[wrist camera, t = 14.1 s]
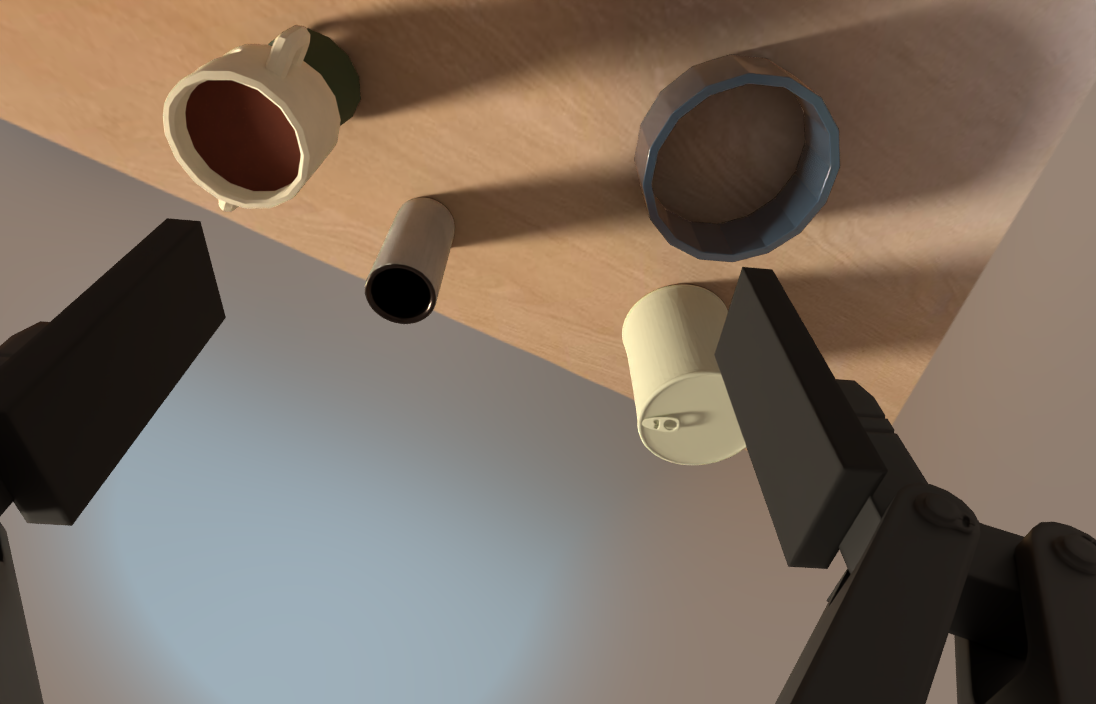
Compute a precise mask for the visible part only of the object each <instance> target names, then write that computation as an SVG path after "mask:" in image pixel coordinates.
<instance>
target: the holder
mask: <svg viewBox="0 0 1096 704" xmlns="http://www.w3.org/2000/svg"><path fill="white" fill-rule="evenodd" d="M746 84H756V85H766V86H776V87H785V88H786V89H788V90H790V91H791V92H793V93H794V95H795V97H796V99H797V100H798V102H799V104H800V106H801V108H802V109H803V111H804V128H805V145H804V147H803V150H802V153H801V156H800V159H799V162H798V165H797V168H796V171H795V173H794V175H793V176H792V177H791V178H790V180H789V181H788V182H787V183H786V185H785V186H784V187H783V188H782V190H781V191H780V192H779V194H778V195H777V196H776V197H775V199H773V200H772V201H770V202H768V203H767V204H765V205H764V206H762V207H761V208H759V209H758V210H756V211H755V212H753V213H752V214H750V215H749V216H747V217H743V218H739V219H736V220H732V221H728V222H724V223H721V224H711V223H700V222H690V221H688V220H686V219H684V218H682V217H680V216H678V215H676V214H674V213H673V212H671V211H669V210H667V209H665V207H664V206H663V205H662V203H661V202H660V201H659V200H658V198H657V197H656V196H655V194H654V193H653V189H652V181H653V176H654V171H655V166H656V161H657V156H658V151H659V150H660V148H661V147H662V145H663V143H664V142H665V140H666V139H667V137H668V136H669V134H670V133H671V131H672V129H673V128H674V126H675V125H676V123H677V122H678V120H679V119H680V118H681V117H683V116H684V115H685V114H687V113H688V112H689V111H690V110H692V109H693V108H694V107H696V106H697V105H698V104H700V103H701V102H702V101H704V100H705V99H706V98H707V97H709V96H710V95H713V94H716V93H719V92H723V91H726V90H729V89H732V88H736V87H739V86H742V85H746ZM634 161H635V165H636V170H637V174H638V178H639V183H640V187H641V191H642V195H643V198H644V201H645V205H646V208H647V211H648V215H649V218H650V220H651V221H652V223H653V224H654V225H655V226H656V228H657V229H658V230H659V231H660V233H661V234H662V235H663V237H664V238H665V239H666V240H667V242H668V243H669V244H670V245H672V246H674V247H676V248H678V249H680V250H682V251H684V252H686V253H688V254H689V255H691V256H693V257H695V258H697V259H702V260H713V261H725V262H736V261H739V260H743V259H747V258H751V257H755V256H759V255H763V254H767V253H769V252H771V251H772V250H774V249H776V248H777V247H779V246H780V245H782V244H784V243H785V242H787V241H788V240H790V239H791V238H793V237H795V236H796V235H798V234H799V233H800V232H802V231H803V229H804V228H805V227H806V226H807V225H808V224H809V222H810V221H811V220H812V219H813V218H814V216H815V215H816V214H817V213H818V212H819V211H820V209H821V208H822V207H823V206H824V205H825V203H826V202H827V199H828V197H829V194H830V192H831V189H832V186H833V184H834V181H835V179H836V176H837V173H838V171H839V168H840V149H839V129H838V127H837V125H836V123H835V121H834V119H833V117H832V116H831V114H830V112H829V110H828V108H827V106H826V104H825V103H824V101H823V99H822V98H821V97H820V96H819V95H818V94H817V93H815V92H814V91H813V90H812V89H810V88H809V87H808V86H807V85H805V84H804V83H803V82H802V81H800V80H799V79H798V78H796V77H795V76H794V75H792V74H790V73H789V72H787V71H786V70H784V69H783V68H781V67H780V66H778V65H777V64H775V63H773V62H772V61H770V60H769V59H767V58H759V57H750V56H740V55H726V56H723V57H720V58H717V59H714V60H711V61H707V62H704V63H701V64H698V65H695V66H692V67H691V68H689V69H688V70H687V71H686V72H684V73H683V74H682V75H681V76H679V77H678V78H677V79H676V80H674V81H673V82H672V83H671V84H669V85H668V86H667V87H666V88H664V89H663V90H662V91H661V92H660V93H659V95H658V96H657V98H656V100H655V101H654V103H653V105H652V106H651V108H650V110H649V111H648V113H647V115H646V116H645V118H644V119H643V121H642V123H641V125H640V130H639V135H638V141H637V147H636V152H635V158H634Z"/></svg>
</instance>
